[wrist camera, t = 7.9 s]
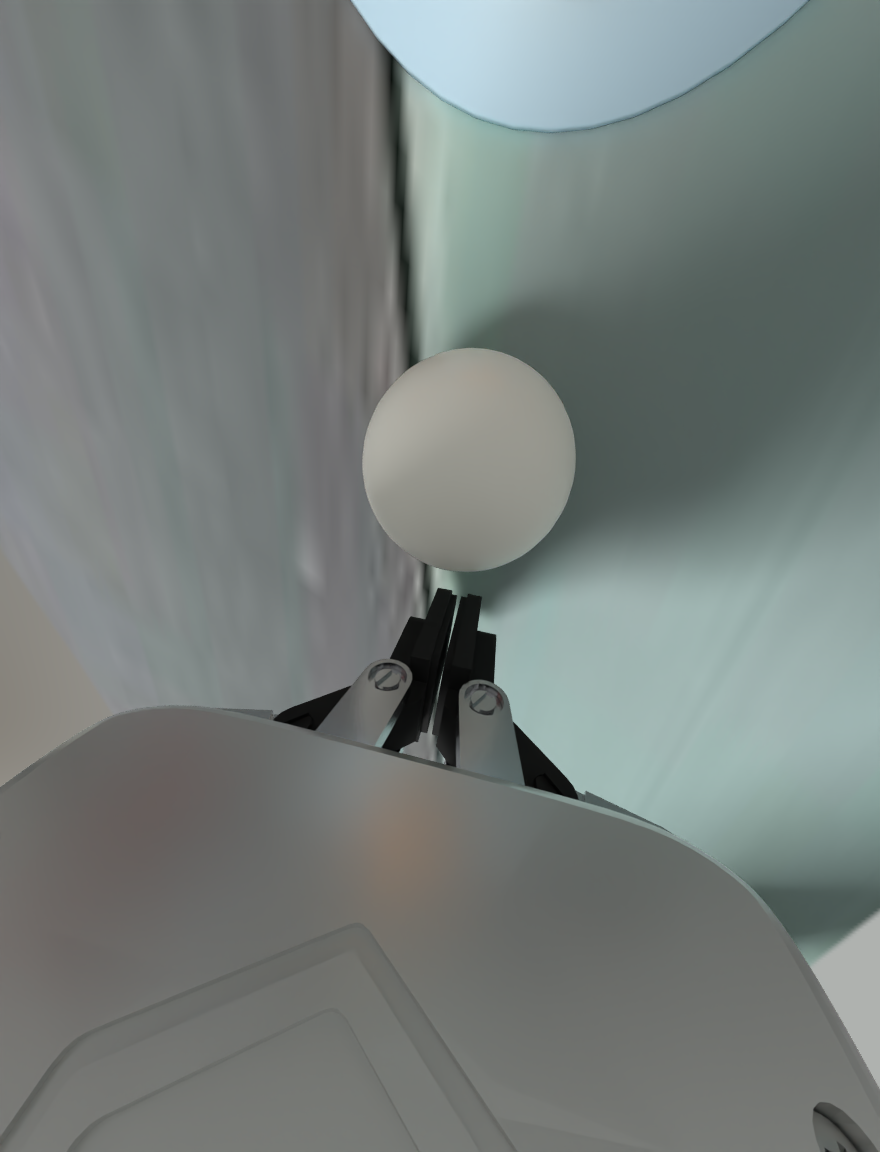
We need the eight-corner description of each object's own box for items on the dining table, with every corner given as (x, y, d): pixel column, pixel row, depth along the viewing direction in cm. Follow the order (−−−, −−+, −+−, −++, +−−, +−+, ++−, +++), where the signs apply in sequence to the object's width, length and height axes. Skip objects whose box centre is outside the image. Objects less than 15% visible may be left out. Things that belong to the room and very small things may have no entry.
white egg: (646, 544, 6) (605, 438, 10) (436, 281, 4) (485, 276, 8) (449, 639, 10) (475, 532, 14) (283, 513, 8) (369, 430, 12)
